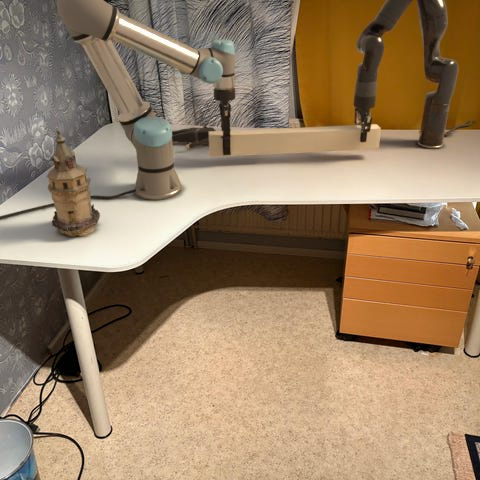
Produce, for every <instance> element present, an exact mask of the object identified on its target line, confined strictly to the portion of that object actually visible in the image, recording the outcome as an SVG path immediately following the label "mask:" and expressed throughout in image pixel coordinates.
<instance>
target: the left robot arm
mask: <svg viewBox="0 0 480 480" xmlns="http://www.w3.org/2000/svg"><path fill="white" fill-rule="evenodd" d="M55 10H56V13H57V15H58V17H59V19H60V20H61V21H62V23H63V24H64V27H66V30H67V31H68V33H69V35H70V37H71V38H72V40H73V41H74V43H77V44H80V45H81V46H82V48H83V49H84V52H85V53H86V55H87V57H88V59H89V60H90V63H91V64H92V65H93V68H94V69H95V71H96V73H97V74H98V77H99V78H100V80H101V82H102V84H103V85H104V87H105V89H106V91H107V93H108V94H109V96H110V98H111V100H112V102H113V103H114V105H115V107H116V109H117V111H118V112H119V113H118V116H117V120H118V122H119V124H120V126H121V127H122V129H123V131H124V134H125V136H126V138H127V139H128V140H129V142H130V143H131V145H132V146H133V147H134V149H135V154H136V161H137V175H136V179H135V184H134V189H131V190H128V191H124V192H121V193H119V194H115V195H90V197H91V199H103V200H111V199H118V198H121V197H123V196H126V195H129V194H132V193H135V195H136V196H137V197H138V198H141V199H143V200H148V201H161V200H168V199H171V198H174V197H176V196H178V195H179V194H180V193H181V192H182V183H181V180H180V177H179V176H178V173H177V171H176V169H175V161H174V160H175V159H174V158H175V157H174V146H173V145H174V144H173V142H172V131H173V130H172V126H171V124H170V122H169V120H167V119H165V118H161V117H158V116H157V115H156V114H155V112H154V110H153V108H152V105H151V104H150V102H147V101H144V100H143V99H142V96H141V94H140V93H139V91H138V88H137V87H136V85H135V83H134V81H133V79H132V77H131V75H130V74H129V72H128V70H127V67H126V66H125V64H124V62H123V59H122V58H121V56H120V54H119V52H118V50H117V48H116V47H115V44H114V43H113V42H115V43H117V44H120V45H121V46H124V47H127V48H129V49H131V50H132V51H133V50H134V51H136V52H138V53H140V54H142V55H145V56H147V57H149V58H151V59H153V60H155V61H158V62H161V63H163V64H166V65H168V66H169V67H171V68H175V69H176V70H178V72H179V73H180V74H181V75H188V76H189V75H190V76H192V77H195V78H196V79H199V80H201V81H202V82H203V83H206V84H209V85H211V84H212V87H213V100H215V101H216V102H219V103H218V108H219V115H220V125H221V126H220V128H221V129H220V131H223V136H221V138H223V155H231V146H230V137H231V135H230V131H232V130H231V110H232V105H231V102H232V101H234V100H235V99H236V88H235V86H236V81H237V80H238V78H237V77H236V72H235V71H236V69H235V67H236V65H235V64H236V63H235V62H236V60H235V57H236V53H235V43H234V42H233V41H232V40H230V39H215V40H212V42H211V46H210V47H205V48H194V47H192V46H189V45H187V44H186V43H183V42H181V41H179V40H177V39H176V38H173V37H171V36H168V35H166V34H164V33H162V32H160V31H158V30H156V29H154V28H152V27H150V26H147V25H145V24H143V23H141V22H139V21H137V20H135V19H132V18H130V17H128V16H126V15H124V14H122V13H120V11H119V8H118V7H116V6H114V5H112V4H111V3H108V2H106V1H105V0H55ZM230 101H231V102H230ZM229 102H230V103H229ZM50 207H55V205H54V202H52V203H47V204H43V205H39V206H35V207H31V208H27V209H24V210H19V211H15V212H11V213H6V214H3V215H0V220H2V219H5V218H10V217H13V216H18V215H21V214H26V213H29V212H34V211H37V210H40V209H41V210H42V209H46V208H50Z"/></svg>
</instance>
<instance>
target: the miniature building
mask: <svg viewBox="0 0 480 480" xmlns="http://www.w3.org/2000/svg"><path fill="white" fill-rule="evenodd" d="M56 134H57V136H56V138H55V140H54V141H55V142H56V147H55V154H54V156H52V157H51V161H52V162H53V165H54V167H53V168H51V169H50V170H49V171H48V173H47V174H46V178H47V179H48V182H49V184H48V186H47V190H48V191H49V193H50V194H51V200H52V201H53V203H54V205H55V206H54V209H55V211H53V217H52V220H51V223H52V225H51V227H54V228H56V229H58V230H59V231H60V234H63V235H64V234H65V235H66V236H69V237H77V236H80V237H83V236H87V235H88V234H90V233H93V232H94V231H95V229H96V226H97V225H98V223H99V220H100V216H101V213H100V212H99V210H98V209H96V208H95V204H92V201H91V200H92V198H91V197H90V196H91V192H92V191H91V188H90V184H91V178H89V177H88V174H87V167H85V166H84V165H83V166H82V165H80V164H77V160H76V154H75V151H74V150H70V149H69V147H68V145H67V143H66V138H65V137H64V136H63V135H61V130H60V129H56Z"/></svg>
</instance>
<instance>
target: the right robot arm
mask: <svg viewBox="0 0 480 480" xmlns="http://www.w3.org/2000/svg"><path fill="white" fill-rule="evenodd" d="M412 2H413V0H386V1H385V2H384V3H383V5H382V6H381V8H380V10H379V11H378V13H377V14H376V16H375V18H374V19H373V20H372V21H371V22H370V23H368V25H367V26H366V27H365V28H364V29H363V31H362V32H361V33H360V34H359V36H358V38H357V40H356V50H357V51H358V52H359V53H360V54H362V55H363V61H362V62H360V63H359V64H358V65H357V71H356V81H355V84H354V85H355V86H354V96H353V106H354V125H360V126H361V135H360V142H366V140H367V132H370V129H371V125H372V123H373V116H371V112H370V110H371V109H374V108H375V107H376V99H377V90H378V75H379V68H380V64H381V62H382V58H383V55H384V53H385V41H384V39H383V38H382V37H383V36H384V34H386V33H390V32H391V31H393V29H394V28H395V27H396V25H397V24H398V22H399V21H400V19H401V17H402V16H403V15H404V12H405V11H406V10H407V9H408V7H409V6H410V5H411V3H412ZM416 5H417V13H418V20H419V28H420V33H421V40H422V49H423V50H422V51H423V72H424V76H425V79H426V80H427V82H430V83H434V84H437V85H438V86H437V88H436V90H434V91H429V92H427V93H426V94H425V98H424V104H423V110H422V118H421V122H420V130H418V134H419V136H418V141H417V144H418V146H420V147H422V148H426V149H439V148H442V147H443V146H444V139H445V137H448V136H450V134H451V133H452V132H454V131H455V130H457V129H460V128H466V127H469V126H471V125H472V123H474V120H473V119H470V120H471V121H470V120H469V122H468V123H464V124H460V125H456V126H454V127H453V128H451V129H450V130H448V131H447V132H446V128H447V123H448V122H447V120H448V116H449V111H450V105H451V100H452V97H453V95H454V93H455V89H456V85H457V80H458V75H459V69H460V68H459V63H458V62H457V60H455V59H451V58H447V57H442V56H441V51H440V44H441V40H442V38H443V37H444V35H445V33H446V30H447V28H448V25H449V18H448V17H449V16H448V8H447V4H446V1H445V0H416ZM472 120H473V121H472ZM365 127H366V129H365Z"/></svg>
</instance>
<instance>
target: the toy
mask: <svg viewBox="0 0 480 480" xmlns="http://www.w3.org/2000/svg"><path fill="white" fill-rule="evenodd" d="M211 131H217V130H216V129H215V128H214V127H212V126H209V127H208V126H207V125H206V124H203V125H202V127H189V128H188V127H187V128H182V129H177V130H172V143H188V144H186V145H185V146H184V148H185V149H187V150H191V149H194V148H196V147H198V146H199V147H200V146H202V145H206V146H207V145H208V146H209V132H211Z"/></svg>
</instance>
